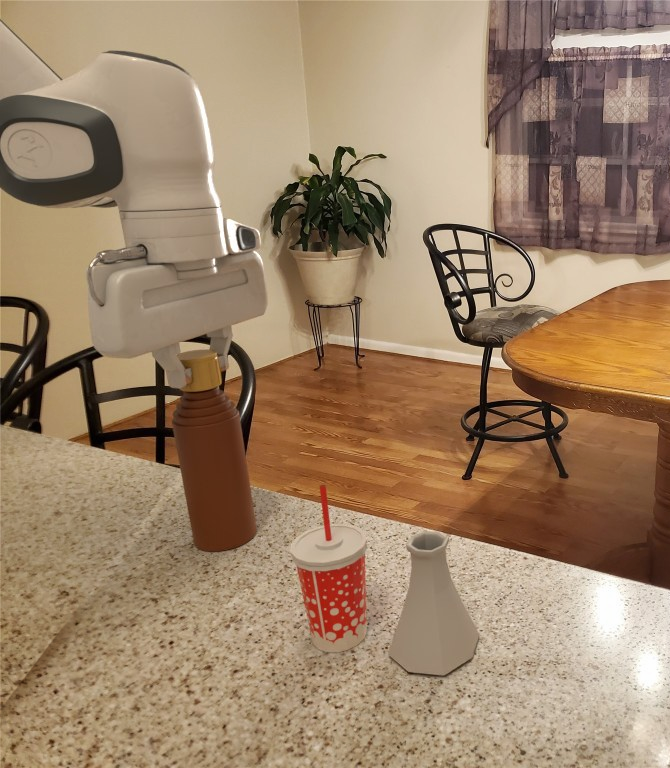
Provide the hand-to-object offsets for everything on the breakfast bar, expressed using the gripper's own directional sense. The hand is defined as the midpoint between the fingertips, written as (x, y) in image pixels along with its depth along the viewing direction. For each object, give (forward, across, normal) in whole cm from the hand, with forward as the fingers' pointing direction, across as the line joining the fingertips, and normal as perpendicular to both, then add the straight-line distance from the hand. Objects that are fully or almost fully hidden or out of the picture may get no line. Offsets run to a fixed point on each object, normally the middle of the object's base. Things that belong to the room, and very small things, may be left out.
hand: (200, 378), depth 70 cm
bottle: (+18, 0, 0) cm, 18 cm away
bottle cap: (+1, 0, 0) cm, 1 cm away
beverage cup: (+18, -12, -21) cm, 30 cm away
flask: (+18, -11, -29) cm, 36 cm away
